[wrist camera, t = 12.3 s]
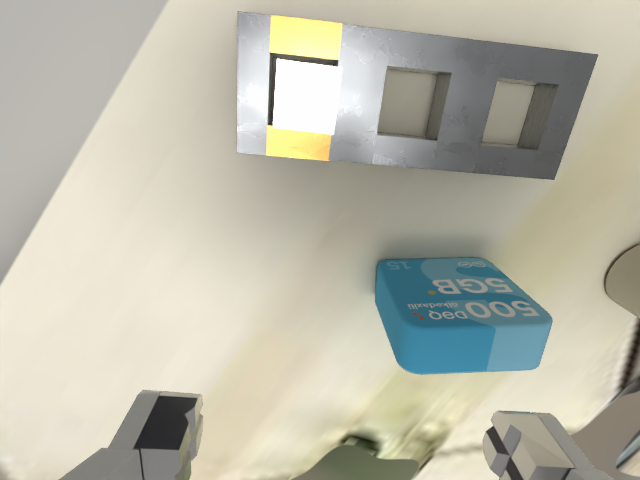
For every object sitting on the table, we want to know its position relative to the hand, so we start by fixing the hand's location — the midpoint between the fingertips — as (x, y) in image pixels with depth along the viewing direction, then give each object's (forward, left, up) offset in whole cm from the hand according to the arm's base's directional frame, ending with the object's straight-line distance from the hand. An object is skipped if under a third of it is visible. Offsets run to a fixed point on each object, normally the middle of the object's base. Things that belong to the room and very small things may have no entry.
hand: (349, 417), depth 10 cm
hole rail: (-7, -8, -26) cm, 28 cm away
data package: (-13, +9, -26) cm, 30 cm away
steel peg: (+2, -8, -26) cm, 27 cm away
